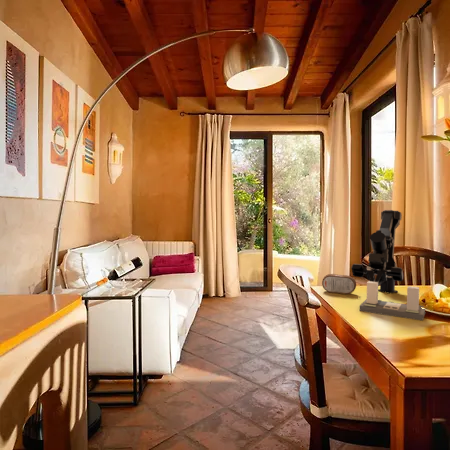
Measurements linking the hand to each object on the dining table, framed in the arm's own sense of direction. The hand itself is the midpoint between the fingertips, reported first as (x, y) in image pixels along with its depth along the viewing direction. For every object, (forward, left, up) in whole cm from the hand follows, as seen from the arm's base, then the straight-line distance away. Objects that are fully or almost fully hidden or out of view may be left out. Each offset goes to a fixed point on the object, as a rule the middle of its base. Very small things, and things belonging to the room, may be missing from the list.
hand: (373, 289), depth 135 cm
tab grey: (-3, +14, -5) cm, 15 cm away
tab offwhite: (+2, +1, -5) cm, 5 cm away
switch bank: (-2, +7, -7) cm, 10 cm away
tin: (-9, -24, -8) cm, 27 cm away
